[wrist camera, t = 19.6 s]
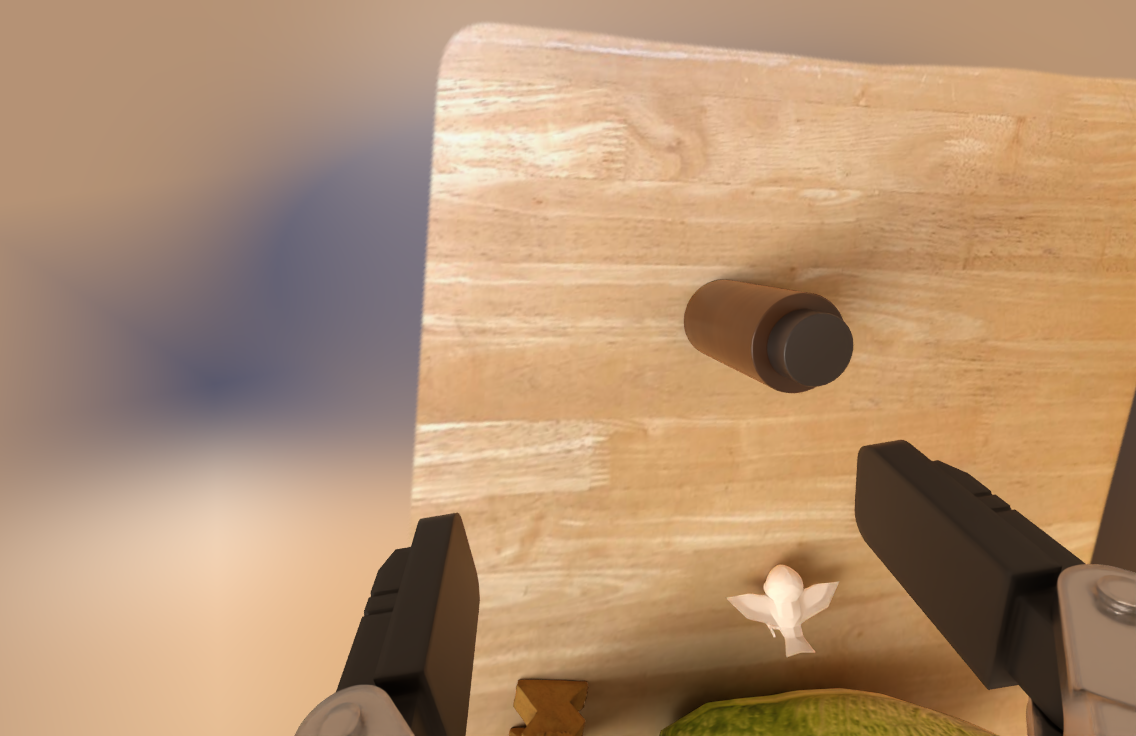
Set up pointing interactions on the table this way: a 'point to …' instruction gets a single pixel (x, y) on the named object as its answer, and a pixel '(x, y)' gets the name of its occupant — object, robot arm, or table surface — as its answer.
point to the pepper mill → (770, 333)
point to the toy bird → (786, 606)
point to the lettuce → (820, 717)
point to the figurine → (550, 707)
